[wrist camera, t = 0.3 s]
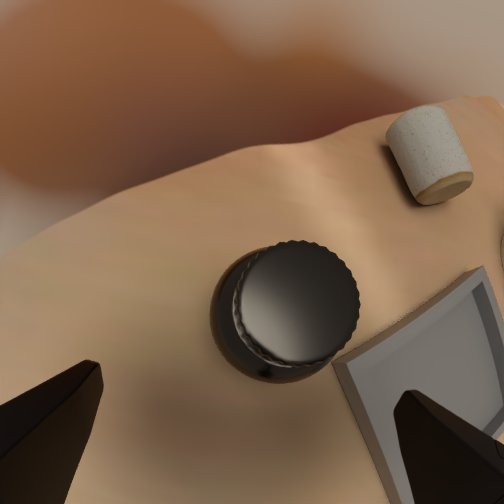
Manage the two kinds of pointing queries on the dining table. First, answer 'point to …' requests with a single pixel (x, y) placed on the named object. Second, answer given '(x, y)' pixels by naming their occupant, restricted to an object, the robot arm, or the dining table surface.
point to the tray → (429, 371)
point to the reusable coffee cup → (502, 252)
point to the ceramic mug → (429, 155)
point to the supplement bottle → (284, 311)
